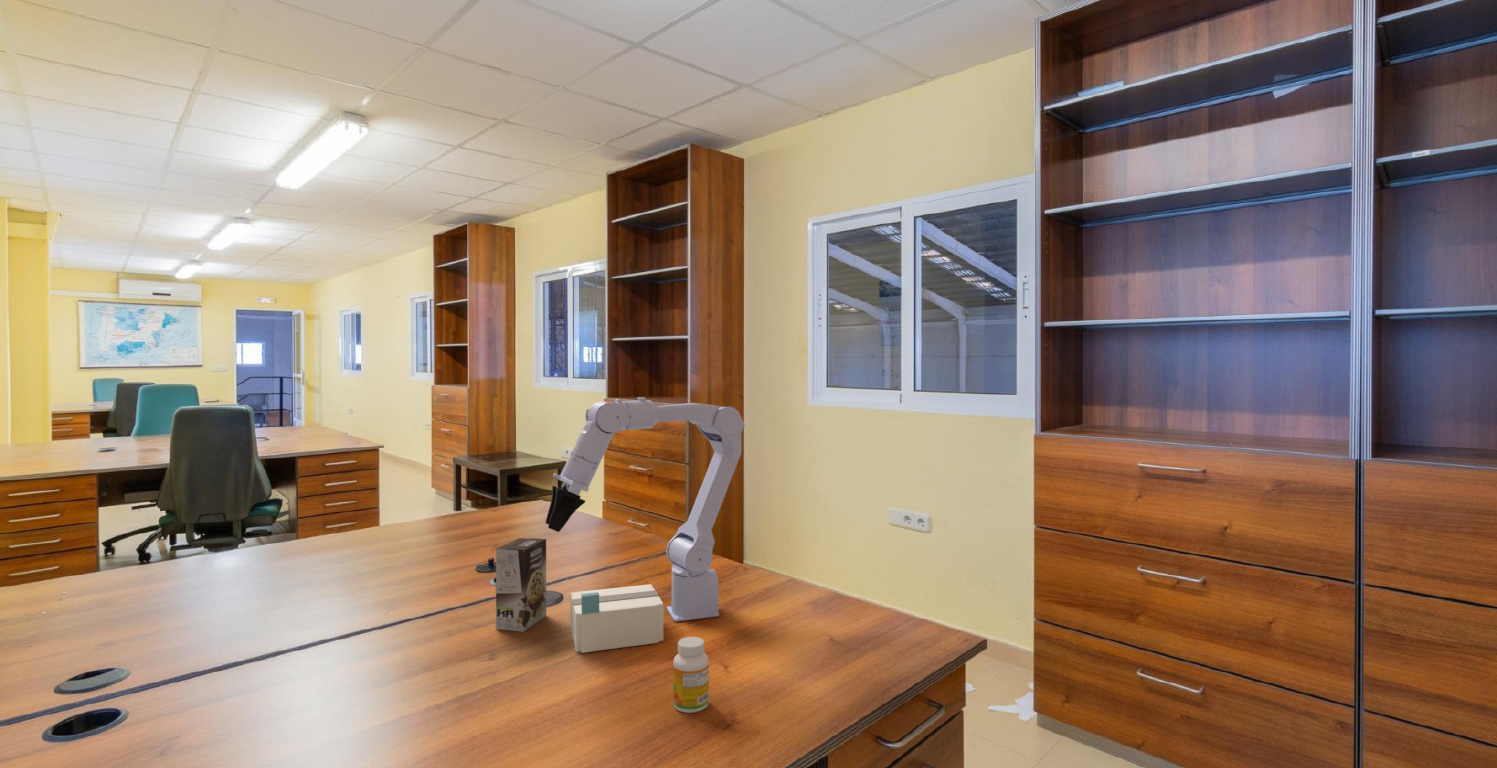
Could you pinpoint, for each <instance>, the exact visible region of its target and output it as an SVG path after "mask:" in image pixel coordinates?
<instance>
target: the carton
mask: <svg viewBox="0 0 1497 768" xmlns="http://www.w3.org/2000/svg"><path fill="white" fill-rule="evenodd" d="M596 592H598V593H599V610H604V609H613V608H621V607H630V606H639V605H648V604H656V603H657V604H658V642H662V641H664V603H663V601H662V600H661V598H660V595H659V593H658V592H657V590H656V589H655V588H654V586H653V585H652V584H641V585H640V584H639V585H631V586H630V585H629V586H622V587H621V586H619V587H613V588H612V587H610V588H604V589H603V588H602V589H601V588H600V589H594V590H593V589H592V590H591V589H590V590H585V591H584V590H582V591H575V592H574V591H573V592H570V630H571V635H572V636H571V637H572V640H573V641H572V642H573V645H574V649H575V650H576V651H575V653H580V652H579V651H581V639H580V612H581V594H587V593H596Z"/></svg>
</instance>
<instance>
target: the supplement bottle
mask: <svg viewBox="0 0 1497 768" xmlns="http://www.w3.org/2000/svg"><path fill="white" fill-rule="evenodd" d="M704 651H705V640H704V639H703V638H701V637H697V636H687V637H682V638H680V639H679V640H678V642H677V652H678V653H677V654H676V655H675V656H674V658H673V662H672V663H673V664H672V667H673V669H672V684H673V687H672V689H673V691H672V692H673V693H672V695H673V696H672V698H673V699H672V700H673V701H672V703H673V707H674V708H675V709H676V710H677V711H678V712H682V713H685V714H689V713H690V714H692V713H698V712H700V711H703V710H705V709H706V708H707V707H709V703H710V702H709V700H710V698H709V697H710V693H709V692H710V691H709V690H710V685H709V684H710V683H709V677H710V676H709V674H710V673H709V672H710V671H709V669H710V667H709V665H710V664H709V663H710V660H709V657H708V655H707V654H706V653H705V652H704Z"/></svg>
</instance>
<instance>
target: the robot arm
mask: <svg viewBox="0 0 1497 768" xmlns="http://www.w3.org/2000/svg"><path fill="white" fill-rule="evenodd" d="M584 415H585V416H584V417H585V421H586V422H585V425H584V426H583V428H582V430H581V432H580V434H579V435H578V437H577V440H576V442H575V444H574V447H573V448H572V450H571V452H570V454H569V456H568V459H567V461H566V463H565V465H564V467H563V468H562V471H561V473H560V474H558V473H556V472H554V473H553V475H552V477H553V478H556V479H557V480H558V481H561V482H563V483H562V485H561V487H558V486H555V485H552V489H551V493H552V494H551V501H550V505H549V509H548V511H547V515H546V518H545V524H547V525H548V527H547V528H548V529H550V530H553V531H555V532H557V533H559V532H560V531H561V530H562V529H563V528H564V527H565V525H566V524H567V522H568V521H569V520H570V519H571V517H572V516H573V514H574V513H575V512H576V511H577V510H578V509H579V508H580V507H582V505H584V504H585V503H586V500H584V499H582V498H581V497H582V496H581V495H580V494H581V491H583V492H586V493H587V492H589V489H590V488H589V487H590V486H591V483H592V481H593V479H594V477H595V475H596V473H597V470H598V468H599V465H600V464H601V462H602V459H603V457H604V456H605V454H606V451H607V449H608V447H609V445H610V442H611V440H612V438H613V437H614V434H617V433H618V432H619V431H628V430H629V431H631V430H632V431H633V430H644V429H645V430H647V429H653V428H654V427H655V426H656V425H657V424H658V422H676V421H677V422H678V421H679V422H682V421H683V422H684V421H685V422H686V421H688V422H690V424H693V425H696V428H697V429H698V430H699V431H700V433H701V434H702V435H703V436H704V438H706V439H707V440H708V442H709V443H710V446H711V447H712V451H713V456H712V458H711V460H710V462H709V465H708V468H707V471H706V473H705V476H704V478H703V481H702V483H701V486H700V488H699V490H698V494H697V496H696V498H695V501H694V504H693V506H692V508H691V511H690V513H689V516H688V519H687V520H686V521H685V522H684V523H683V524H682V525H680V526H679V527H678V529H677V531H676V533H675V535H673V537H672V538H671V539H670V540H669V541H668V544H667V546H666V557H667V559H668V561H670V562H671V605H668V606H666V610H667V612H668V614H670V617H671V618H672V620H673V621H674V622H682V621H683V622H684V621H690V620H692V621H693V620H699V619H706V618H707V619H708V618H714V617H719V616H720V613H719V580H718V574H717V572H716V569H715V568H710V567H711V565H712V561H713V550H714V546H715V543H716V542H715V539H714V535H713V531H712V530H713V528H714V525H715V523H716V520H717V517H718V515H719V512H720V509H721V507H722V504H723V502H724V499H725V498H726V497H725V496H726V494H727V491H728V488H729V486H730V484H731V481H732V479H733V476H734V474H735V471H736V468H737V466H738V465H737V464H738V462H739V460H740V457H741V455H742V449H743V448H742V432H743V429H744V427H745V423H744V420H743V418H742V416H741V413H740V412H739V411H738V410H737V409H736V408H735V407H733V406H721V405H714V404H705V403H699V402H698V403H697V402H689V403H688V402H687V403H678V404H676V403H675V404H665V405H657V404H655V403H654V402H653V401H652V400H650V399H647V398H646V397H644V396H643V397H642V396H641V397H637V398H636V400H623V401H622V399H621V398H616V399H614V401H611V402H610V401H609V402H608V401H597V402H595V403H594V404H591V406H590V407H589V408H587V409H586V411H585V414H584Z"/></svg>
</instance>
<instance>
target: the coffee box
mask: <svg viewBox="0 0 1497 768" xmlns="http://www.w3.org/2000/svg"><path fill="white" fill-rule="evenodd" d="M495 554H496V555H495V561H496V563H495V569H496V570H495V574H496V575H495V629H496V630H499V631H501V630H502V631H510V632H511V631H512V632H520V633H523V632H525V631H527V630H529V629H530V628H531V627H532V626H534V625H535V624H537V623H538V622H540V621H541V620H542V619H544V618H545V617H547V538H536V537H535V538H532V537H531V538H529V537H528V538H525V537H524V538H523V537H519V538H516V539H515V540H512V541H510V542H507V543H505V544H503V545H502V546H499V547H496V548H495Z"/></svg>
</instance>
